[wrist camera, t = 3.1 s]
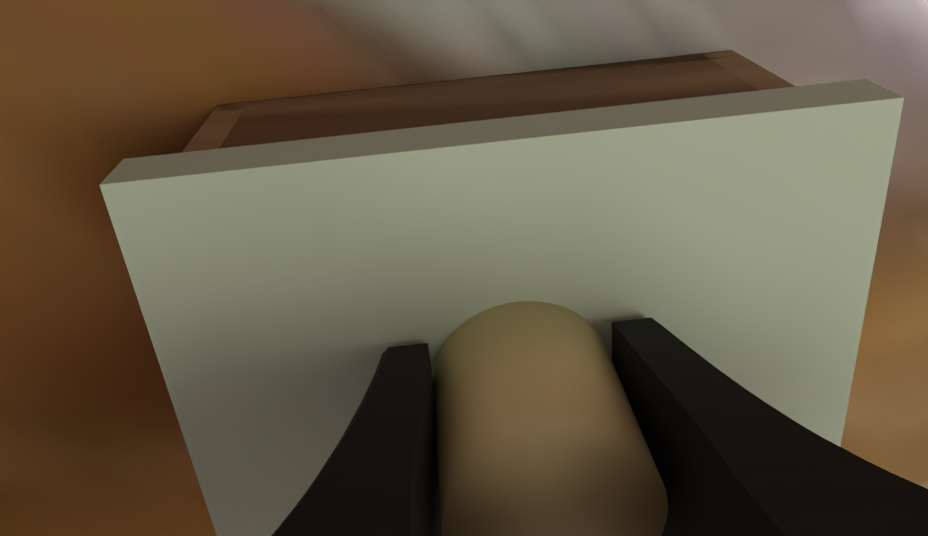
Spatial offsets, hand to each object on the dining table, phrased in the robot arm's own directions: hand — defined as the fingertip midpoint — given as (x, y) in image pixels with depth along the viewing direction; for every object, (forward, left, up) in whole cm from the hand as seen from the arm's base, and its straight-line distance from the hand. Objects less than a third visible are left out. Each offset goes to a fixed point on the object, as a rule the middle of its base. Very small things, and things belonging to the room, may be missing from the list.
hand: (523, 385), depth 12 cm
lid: (0, 0, -1) cm, 1 cm away
